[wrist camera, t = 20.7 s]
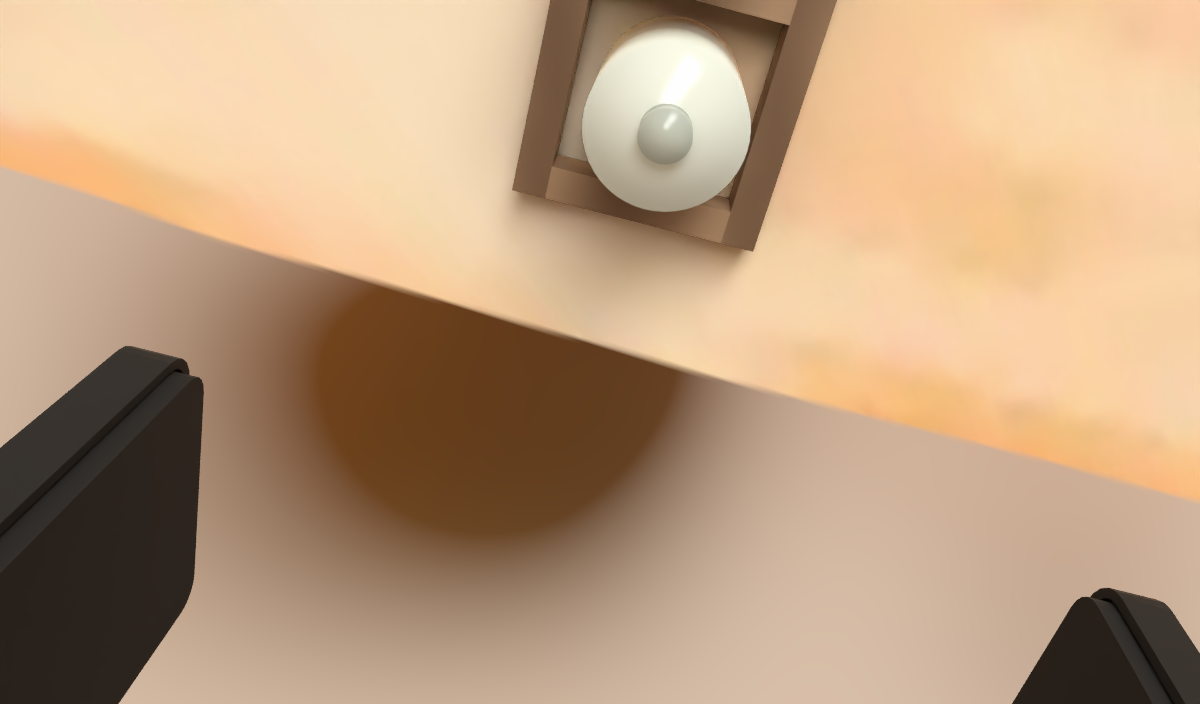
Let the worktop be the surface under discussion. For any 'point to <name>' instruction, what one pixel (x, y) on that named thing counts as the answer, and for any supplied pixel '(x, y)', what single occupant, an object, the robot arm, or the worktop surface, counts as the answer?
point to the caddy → (738, 220)
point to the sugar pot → (667, 116)
